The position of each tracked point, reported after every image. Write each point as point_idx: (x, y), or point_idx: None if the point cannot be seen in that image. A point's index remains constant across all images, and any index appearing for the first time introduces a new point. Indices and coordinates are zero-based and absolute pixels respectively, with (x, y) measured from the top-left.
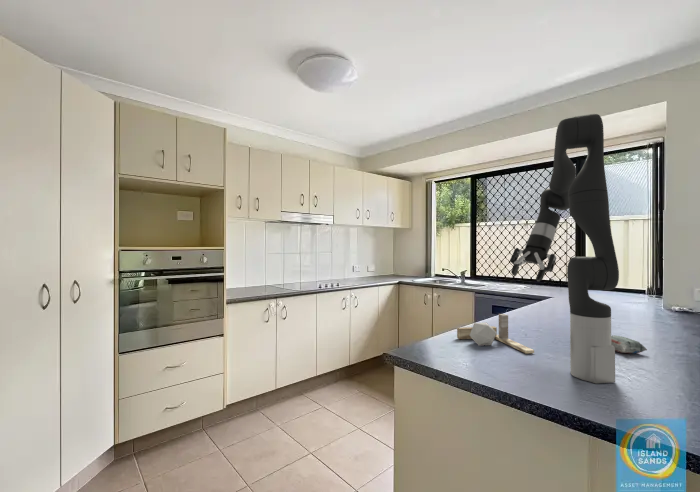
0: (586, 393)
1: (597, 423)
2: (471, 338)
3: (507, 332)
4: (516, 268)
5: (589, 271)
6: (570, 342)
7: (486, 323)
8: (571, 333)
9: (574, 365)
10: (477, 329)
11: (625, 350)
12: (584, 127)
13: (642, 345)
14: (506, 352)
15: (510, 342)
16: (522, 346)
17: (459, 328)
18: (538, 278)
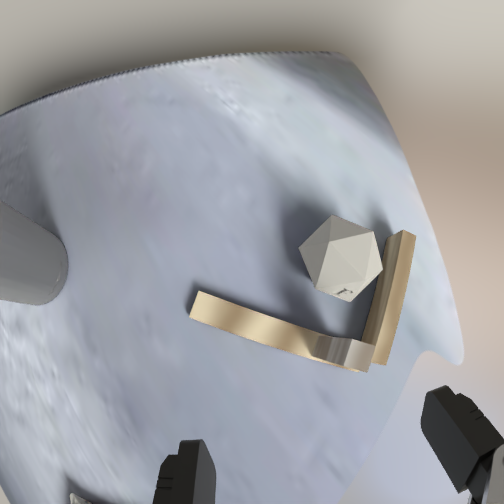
0: (23, 178)
1: (7, 111)
2: (379, 274)
3: (319, 355)
4: (456, 443)
5: None
6: (27, 223)
7: (353, 266)
8: (9, 207)
9: (42, 227)
10: (342, 222)
11: (73, 496)
12: None
13: None
14: (240, 258)
15: (280, 326)
16: (231, 321)
17: (407, 234)
18: (181, 452)
